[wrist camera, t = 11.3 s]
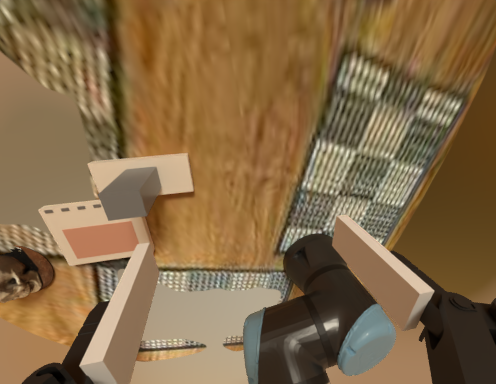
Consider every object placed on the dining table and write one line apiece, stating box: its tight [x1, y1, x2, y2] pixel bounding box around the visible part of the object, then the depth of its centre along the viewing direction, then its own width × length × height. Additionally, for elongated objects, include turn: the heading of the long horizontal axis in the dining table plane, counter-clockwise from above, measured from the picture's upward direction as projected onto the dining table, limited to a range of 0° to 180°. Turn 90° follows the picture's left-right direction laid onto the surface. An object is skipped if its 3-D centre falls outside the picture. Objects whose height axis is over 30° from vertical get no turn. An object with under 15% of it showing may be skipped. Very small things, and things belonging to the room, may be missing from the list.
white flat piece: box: [38, 200, 155, 266], centre depth 40 cm, size 13×16×2 cm
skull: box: [0, 245, 54, 303], centre depth 40 cm, size 12×10×10 cm
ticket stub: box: [88, 153, 194, 221], centre depth 32 cm, size 7×16×12 cm, turn 93°
